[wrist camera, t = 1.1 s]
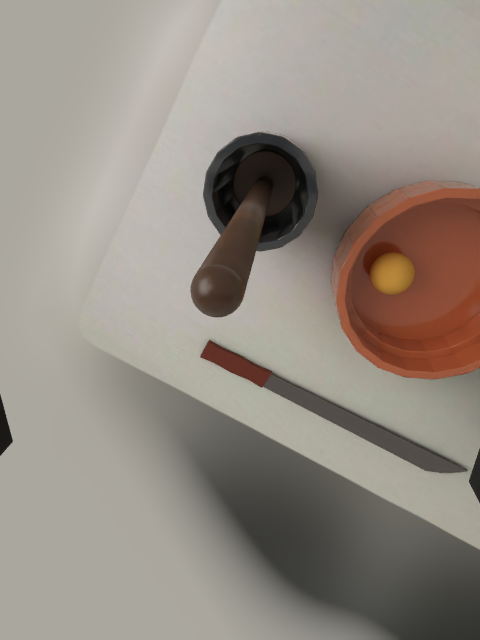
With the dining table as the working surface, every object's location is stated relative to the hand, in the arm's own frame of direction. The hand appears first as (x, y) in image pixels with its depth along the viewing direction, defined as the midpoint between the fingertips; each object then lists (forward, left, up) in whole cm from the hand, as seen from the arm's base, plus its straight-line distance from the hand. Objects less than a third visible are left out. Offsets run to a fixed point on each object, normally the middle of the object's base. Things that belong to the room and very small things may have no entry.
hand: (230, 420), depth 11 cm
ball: (+11, +6, -30) cm, 33 cm away
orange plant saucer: (+13, +9, -33) cm, 37 cm away
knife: (+24, -7, -33) cm, 41 cm away
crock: (-3, +1, -33) cm, 33 cm away
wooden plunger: (-3, +1, -32) cm, 32 cm away
